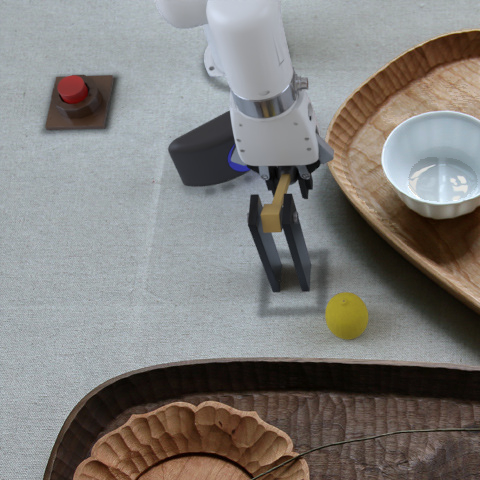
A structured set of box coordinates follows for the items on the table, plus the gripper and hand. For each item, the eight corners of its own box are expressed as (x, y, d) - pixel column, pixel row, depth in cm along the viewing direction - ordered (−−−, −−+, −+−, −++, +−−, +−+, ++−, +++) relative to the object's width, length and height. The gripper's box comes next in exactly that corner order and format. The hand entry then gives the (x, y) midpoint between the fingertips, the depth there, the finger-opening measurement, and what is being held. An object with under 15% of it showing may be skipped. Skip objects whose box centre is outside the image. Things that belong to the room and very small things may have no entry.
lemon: (340, 356, 106) (333, 327, 99) (322, 323, 108) (314, 293, 101) (378, 338, 107) (373, 308, 100) (359, 305, 109) (353, 274, 102)
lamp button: (64, 84, 124) (59, 75, 122) (90, 83, 124) (85, 74, 122) (60, 104, 122) (55, 96, 121) (86, 103, 122) (81, 95, 121)
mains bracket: (267, 255, 113) (239, 178, 97) (324, 254, 113) (305, 177, 97) (262, 312, 109) (233, 242, 94) (321, 311, 109) (301, 240, 94)
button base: (58, 79, 127) (51, 67, 125) (114, 78, 127) (108, 66, 124) (46, 130, 123) (39, 118, 121) (104, 129, 123) (98, 117, 121)
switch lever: (278, 179, 110) (275, 156, 107) (302, 178, 109) (299, 156, 107) (259, 235, 97) (255, 211, 95) (286, 235, 97) (282, 210, 95)
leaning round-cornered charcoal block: (197, 206, 117) (178, 163, 108) (182, 185, 118) (162, 141, 109) (294, 153, 119) (282, 107, 111) (278, 133, 121) (266, 86, 112)
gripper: (336, 62, 94) (353, 167, 111) (197, 66, 95) (235, 170, 112) (333, 111, 91) (351, 212, 108) (189, 114, 92) (229, 214, 109)
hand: (291, 190), depth 110 cm, fingers closed on switch lever, 3 cm apart
